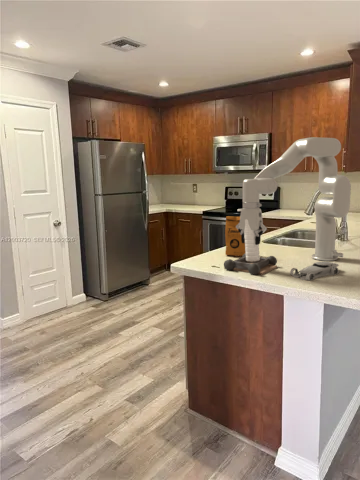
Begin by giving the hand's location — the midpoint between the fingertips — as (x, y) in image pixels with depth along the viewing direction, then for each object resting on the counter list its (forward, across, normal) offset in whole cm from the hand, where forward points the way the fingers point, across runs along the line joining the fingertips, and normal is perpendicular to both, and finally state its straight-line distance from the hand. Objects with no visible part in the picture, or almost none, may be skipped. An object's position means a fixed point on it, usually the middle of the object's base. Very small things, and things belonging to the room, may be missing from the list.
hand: (250, 243), depth 167 cm
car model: (+13, -29, -8) cm, 32 cm away
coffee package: (+12, +20, -20) cm, 31 cm away
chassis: (+12, 0, 0) cm, 12 cm away
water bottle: (+9, 0, 0) cm, 9 cm away
